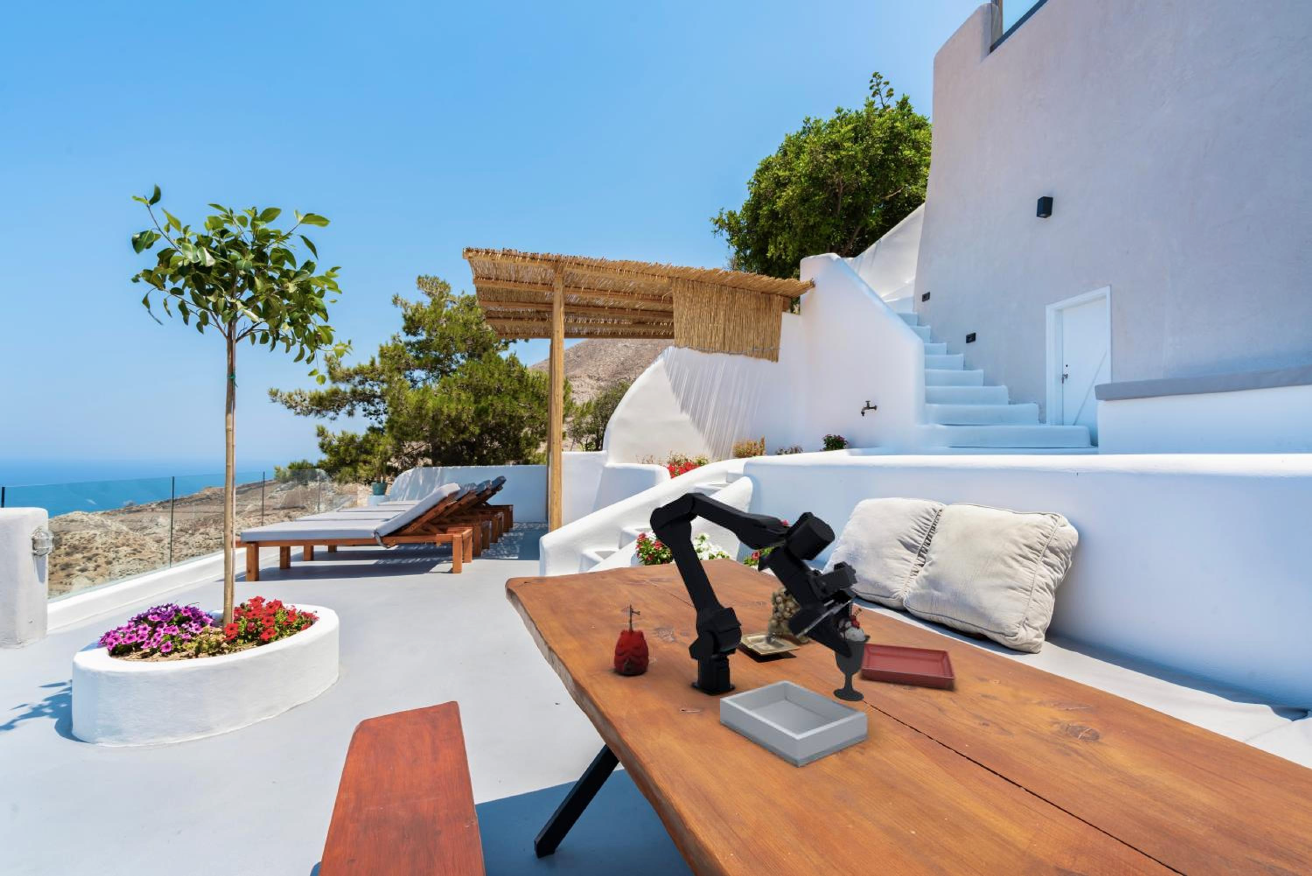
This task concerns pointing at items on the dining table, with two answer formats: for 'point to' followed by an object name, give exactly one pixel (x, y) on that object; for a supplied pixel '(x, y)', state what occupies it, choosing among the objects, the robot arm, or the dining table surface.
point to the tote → (793, 721)
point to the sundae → (851, 666)
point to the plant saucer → (907, 665)
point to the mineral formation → (783, 614)
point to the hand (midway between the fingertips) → (857, 651)
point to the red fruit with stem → (631, 651)
